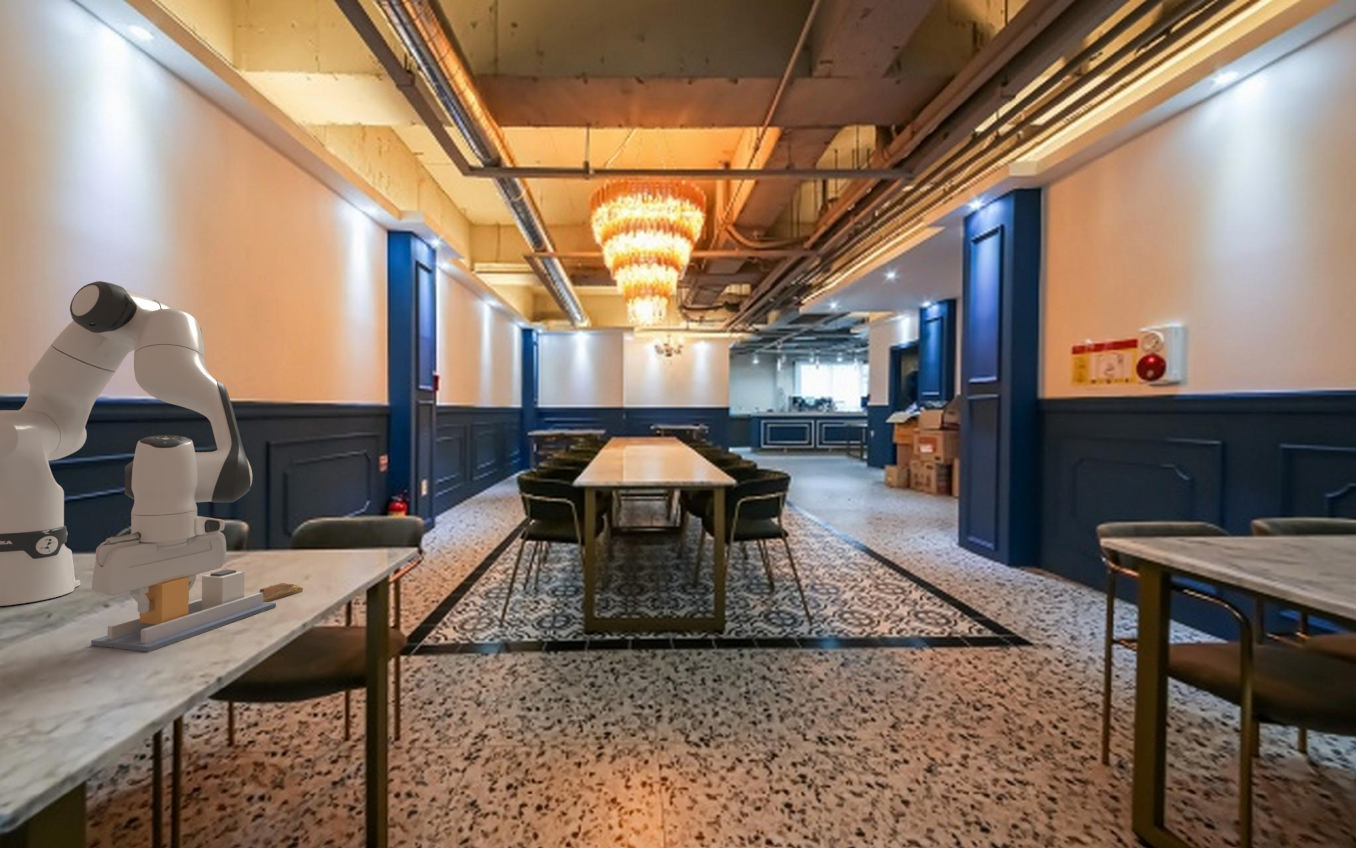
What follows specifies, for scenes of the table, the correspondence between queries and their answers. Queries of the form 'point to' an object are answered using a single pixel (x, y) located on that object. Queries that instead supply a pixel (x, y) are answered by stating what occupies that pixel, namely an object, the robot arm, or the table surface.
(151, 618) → the block
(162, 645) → the rail panel
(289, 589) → the shard
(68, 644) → the table surface
